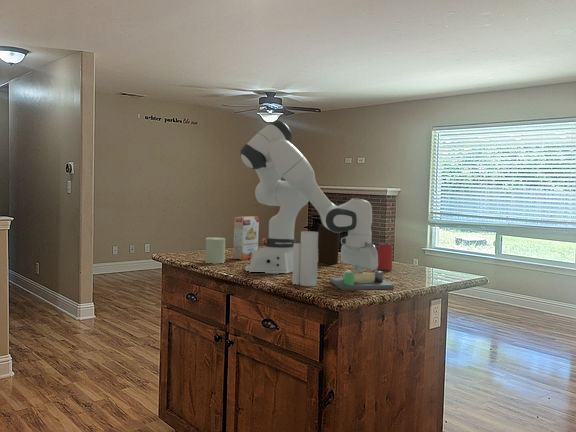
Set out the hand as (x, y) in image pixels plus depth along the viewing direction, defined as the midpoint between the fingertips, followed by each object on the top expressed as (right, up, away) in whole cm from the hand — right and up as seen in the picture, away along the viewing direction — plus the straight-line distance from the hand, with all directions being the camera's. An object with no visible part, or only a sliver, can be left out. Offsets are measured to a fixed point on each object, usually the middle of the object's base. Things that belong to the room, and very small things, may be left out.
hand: (358, 277), depth 205 cm
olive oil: (-7, 0, +56) cm, 56 cm away
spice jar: (+3, -1, -1) cm, 4 cm away
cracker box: (-48, +2, +64) cm, 80 cm away
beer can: (+17, -1, +40) cm, 44 cm away
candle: (-21, -3, +1) cm, 21 cm away
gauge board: (+1, -3, +1) cm, 4 cm away
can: (-61, +1, +47) cm, 77 cm away
